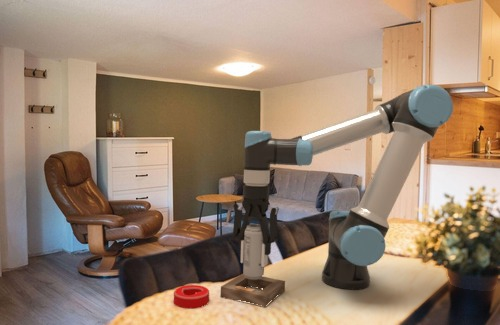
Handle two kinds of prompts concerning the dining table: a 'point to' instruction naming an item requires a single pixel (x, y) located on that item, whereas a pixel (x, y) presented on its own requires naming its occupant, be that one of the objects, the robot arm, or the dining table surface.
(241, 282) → the frame
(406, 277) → the dining table surface
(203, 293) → the decorative ornament
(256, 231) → the energy drink can
